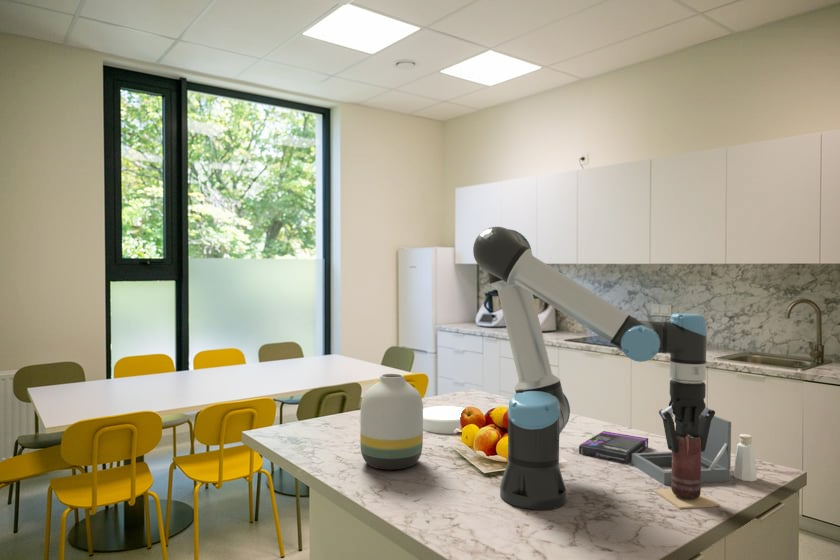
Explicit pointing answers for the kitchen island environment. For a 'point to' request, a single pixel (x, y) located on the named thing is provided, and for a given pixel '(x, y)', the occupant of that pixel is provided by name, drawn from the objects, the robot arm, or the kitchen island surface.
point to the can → (687, 468)
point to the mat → (686, 500)
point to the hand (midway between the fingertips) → (685, 481)
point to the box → (613, 446)
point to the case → (712, 458)
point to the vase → (391, 424)
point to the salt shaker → (745, 460)
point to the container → (441, 419)
